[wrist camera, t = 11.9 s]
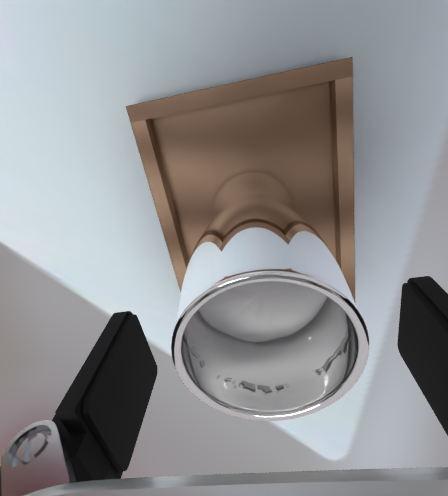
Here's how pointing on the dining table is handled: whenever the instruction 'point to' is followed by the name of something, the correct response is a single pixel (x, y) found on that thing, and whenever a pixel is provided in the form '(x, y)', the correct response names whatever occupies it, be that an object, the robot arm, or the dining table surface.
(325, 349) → the beer glass
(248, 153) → the walnut tray
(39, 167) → the dining table surface
